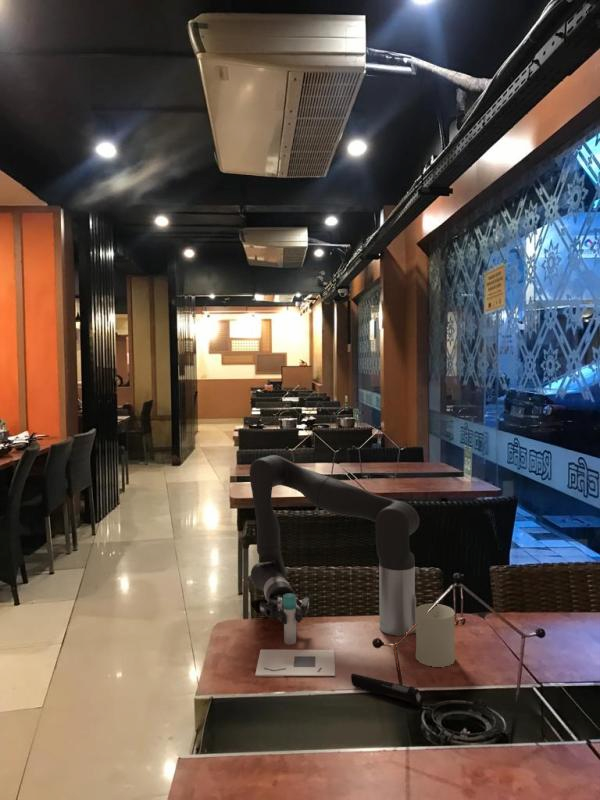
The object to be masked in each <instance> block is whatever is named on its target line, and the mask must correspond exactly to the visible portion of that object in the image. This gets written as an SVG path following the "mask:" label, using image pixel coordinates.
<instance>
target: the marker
mask: <svg viewBox="0 0 600 800" xmlns="http://www.w3.org/2000/svg"><path fill="white" fill-rule="evenodd" d="M296 597H297V595H296V594H293V593H287V594H284V595H283V608H284V612H285V614H286V616H287V624H283V636H284V637H283V639H284V640H283V641H284V642H283V643H284V644H285V645H288V646H289V645H292V646H293V645H295V644H296V643H297V621H296Z"/></svg>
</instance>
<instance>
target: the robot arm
mask: <svg viewBox="0 0 600 800" xmlns="http://www.w3.org/2000/svg"><path fill="white" fill-rule="evenodd" d="M249 467H250V468H249V481H250V488H251V493H252V501H253V507H254V512H255V520H256V552H257V554H258V555H259V556H260V557H263V558H268V559H272V560H273V561H268V562H258V563H255V564H254V565H253V566H252V567H251V570H250V578H251V582H252V584H253V586H254V587H255V588H256V589H257V590H259V591H261V592H263V593H264V598H265V601H266V602H264V601H260V602H259V610H260V611H259V613H260V614H262V615H264V616H265V617H267V618H269V619H271V620H272V619H273V620H275V619H276V618H277V619H278V620H279V622H280V623H282V624H283V625H284V624H287V616H286V614H285V612H284V608H283V595H284V594H287V593H293V594H295V591H294V590H293V589H292V586H291V585H290V583H289V582H288V581H287V580H286V579H287V572H286V567H285V564H284V561H283V557H282V552H281V551H282V550H281V528H280V523H279V519H278V517H277V515H276V512H275V511H274V508H273V502H272V494H273V492H272V491H273V488H274V487H277V486H282V487H285V488H286V487H287V488H289V489H293V490H295V491H297V492H299V493H300V494H301V495H303V497H305V499H306V500H307V501H308V502H309V503H311V504H312V505H313V506H315V507H317V508H318V509H321V510H324V511H326V512H329V513H331V514H335V515H337V516H338V515H339V516H344V517H352V518H359V519H366V520H370V521H371V522H374V523H375V545H376V546H375V547H376V549H375V550H376V555H377V557H378V559H379V560H378V561H379V562H378V563H379V564H378V565H379V567H378V568H379V570H378V572H379V573H378V574H379V575H378V576H379V577H378V578H379V579H378V581H379V582H378V583H379V586H378V587H379V588H378V589H379V593H378V595H379V598H378V599H379V603H378V604H379V609H378V611H379V620H378V621H379V630H381V632H382V633H385V634H387V635H391V636H397V637H398V636H399V637H402V636H405V635H404V634H406V632H408V631H409V629H410V628H412V626H414V625H415V624H416V608H417V596H416V594H415V593H416V592H415V589H416V588H415V587H416V583H415V581H416V579H415V578H416V577H415V575H416V574H415V573H416V571H415V570H416V569H415V567H416V566H415V563H416V562H415V561H416V560H415V559H416V558H415V555H414V553H413V552H412V551H411V550H410V548H411V547H410V536H411V535H412V534H413V533H415V532H416V531H417V529H418V528H419V526H420V521H421V520H420V516H419V513H418V512H417V510H416V509H415V508H414V507H413V506H412V505H410V504H409V503H407V502H404V501H401V500H397V499H393V498H389V497H385V496H381V495H377V494H374V493H372V492H369V491H367V490H365V489H363V488H360V487H358V486H354V485H352V484H350V483H347V482H344V481H343V480H339V479H336V478H334V477H331V476H328V475H325V474H323V473H319V472H317V471H313V470H311V469H307V468H305V467H303V466H301V465H298V464H296V463H295V462H293V461H290V460H288V459H286V458H285V457H283V456H281V455H275V454H272V455H268V456H264V457H259V458H257V459H255V460H254V461H253V462H252V463H251V464H250V466H249ZM295 595H296V594H295ZM309 608H310V598H309V597H304V598H303V599H300V598H299V597H297V596H296V624H298V623H301V621H303V617H305V616H306V615H307V613H308V611H309ZM411 634H416V628H415V629H414V630H413V631H412V632H411V633H410V634H409V635H411Z"/></svg>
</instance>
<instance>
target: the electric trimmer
mask: <svg viewBox="0 0 600 800" xmlns="http://www.w3.org/2000/svg"><path fill="white" fill-rule="evenodd" d="M350 679H351V684H352V686H354V687H355V688H358V689H361V690H363V691H365V692H368V693H370V694H373V695H376V696H382V695H384V696H387V697H391V698H394V699H397V700H400V701H404V702H408V703H411V705H412V706H413V707H416V706H418V707H419V706H420V705H421V703H422V702H423V696H422V693H421V691H420V690H419V689H418V688H415V687H414V686H413V685H412V686H411V685H410V686H407V685H404V684H400V683H394V682H391V681H386V680H382V679H378V678H374V677H369V676H365V675H361V674H357V673H351V674H350Z"/></svg>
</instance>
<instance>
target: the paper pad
mask: <svg viewBox="0 0 600 800" xmlns="http://www.w3.org/2000/svg"><path fill="white" fill-rule="evenodd" d="M259 650H260V651H259V655H258V656H259V657H258V660H257V665H256V669H255V670H256V671H255V675H254V676H255V677H284V676H335V677H336V671H335V670H336V667H335V650H334V649H259Z"/></svg>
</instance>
